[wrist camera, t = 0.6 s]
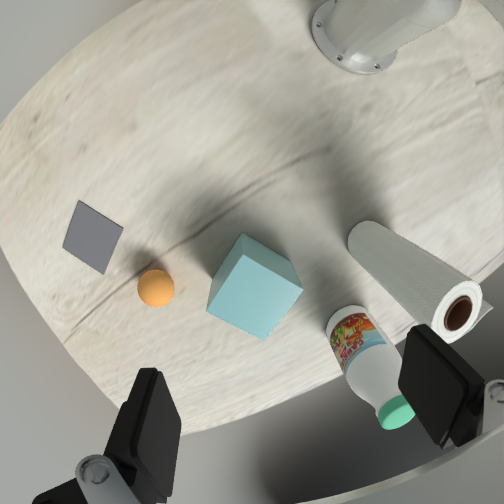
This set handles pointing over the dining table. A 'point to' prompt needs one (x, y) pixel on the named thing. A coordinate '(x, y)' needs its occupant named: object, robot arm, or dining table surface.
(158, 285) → the ball
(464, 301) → the paper towel roll
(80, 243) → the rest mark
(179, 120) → the dining table surface
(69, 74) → the dining table surface
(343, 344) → the milk bottle
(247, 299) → the light teal cube-like block
